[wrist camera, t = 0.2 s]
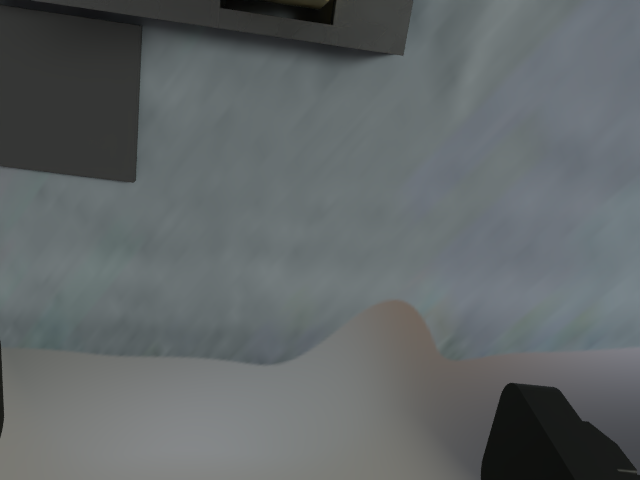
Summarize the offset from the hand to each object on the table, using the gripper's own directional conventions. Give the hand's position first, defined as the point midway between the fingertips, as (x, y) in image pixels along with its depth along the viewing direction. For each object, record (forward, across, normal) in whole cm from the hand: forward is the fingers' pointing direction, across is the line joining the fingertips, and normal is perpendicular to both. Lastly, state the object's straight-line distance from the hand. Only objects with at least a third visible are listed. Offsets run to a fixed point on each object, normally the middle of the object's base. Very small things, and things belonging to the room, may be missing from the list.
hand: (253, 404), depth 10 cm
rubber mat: (+28, +13, 0) cm, 31 cm away
